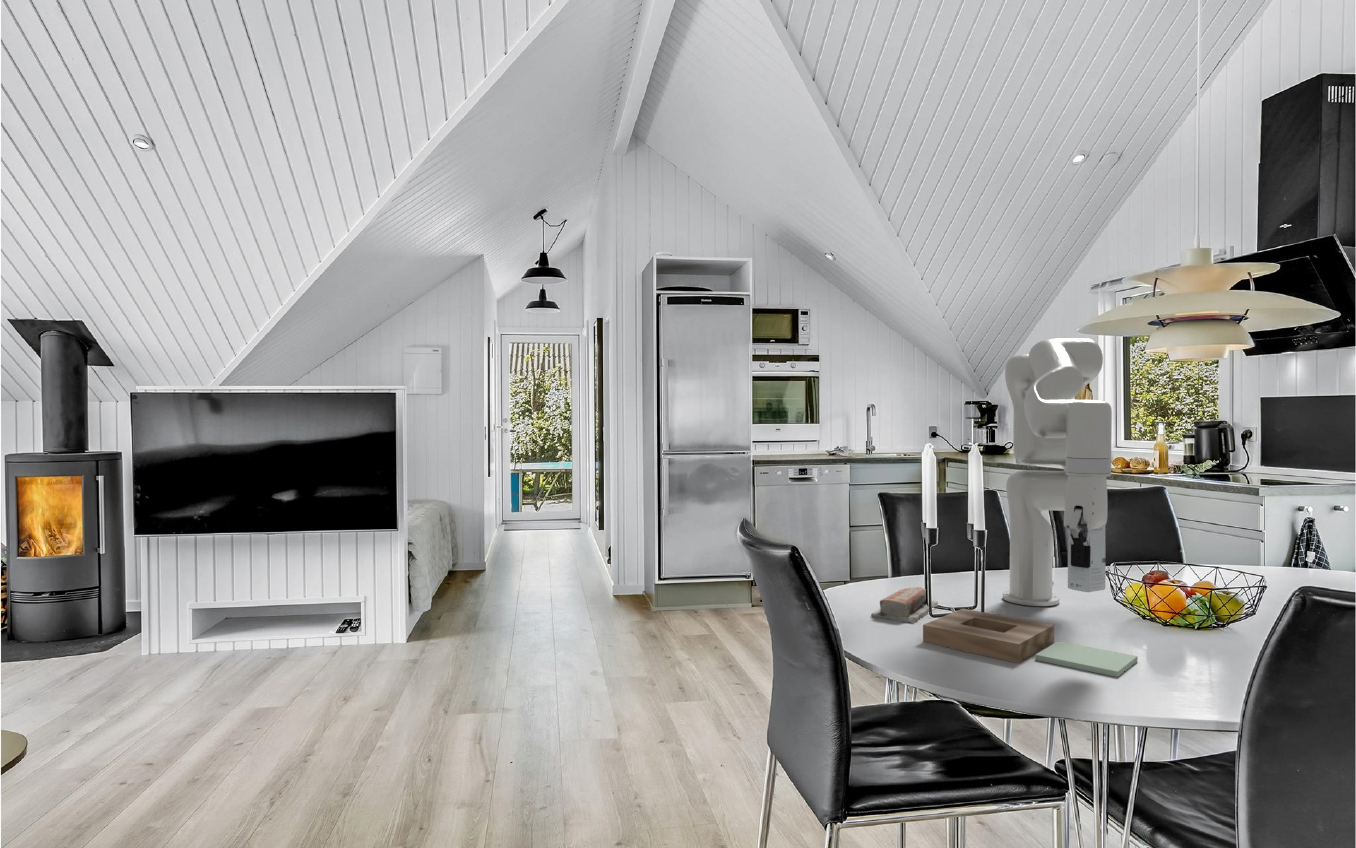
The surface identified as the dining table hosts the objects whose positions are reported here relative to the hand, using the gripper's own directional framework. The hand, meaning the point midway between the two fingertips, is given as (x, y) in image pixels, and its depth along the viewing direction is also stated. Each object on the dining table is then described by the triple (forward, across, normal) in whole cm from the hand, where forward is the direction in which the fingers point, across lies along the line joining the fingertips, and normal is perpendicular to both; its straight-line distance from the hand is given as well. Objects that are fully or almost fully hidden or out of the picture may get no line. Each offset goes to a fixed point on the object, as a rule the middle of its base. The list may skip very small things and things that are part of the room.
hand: (1087, 563), depth 150 cm
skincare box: (+5, 0, 0) cm, 5 cm away
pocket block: (+18, +1, -18) cm, 26 cm away
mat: (+18, 0, 0) cm, 18 cm away
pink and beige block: (+19, -10, -42) cm, 47 cm away
